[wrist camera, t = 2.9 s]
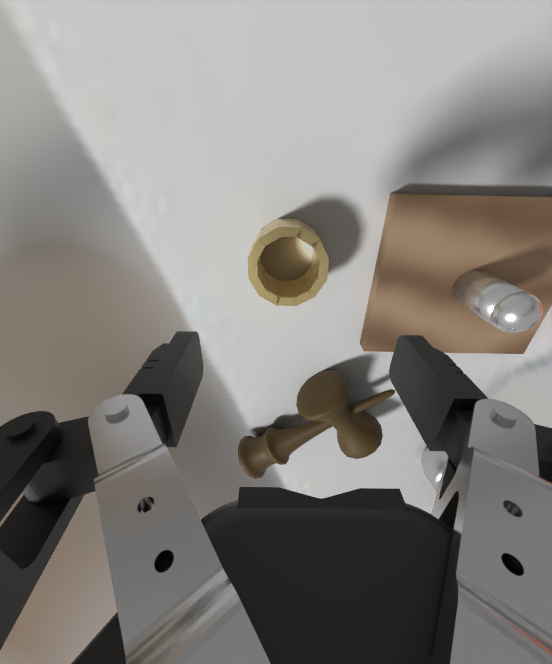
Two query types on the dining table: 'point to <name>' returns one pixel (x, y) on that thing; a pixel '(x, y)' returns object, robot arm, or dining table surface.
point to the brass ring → (288, 289)
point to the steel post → (497, 301)
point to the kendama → (317, 425)
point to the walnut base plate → (456, 268)
